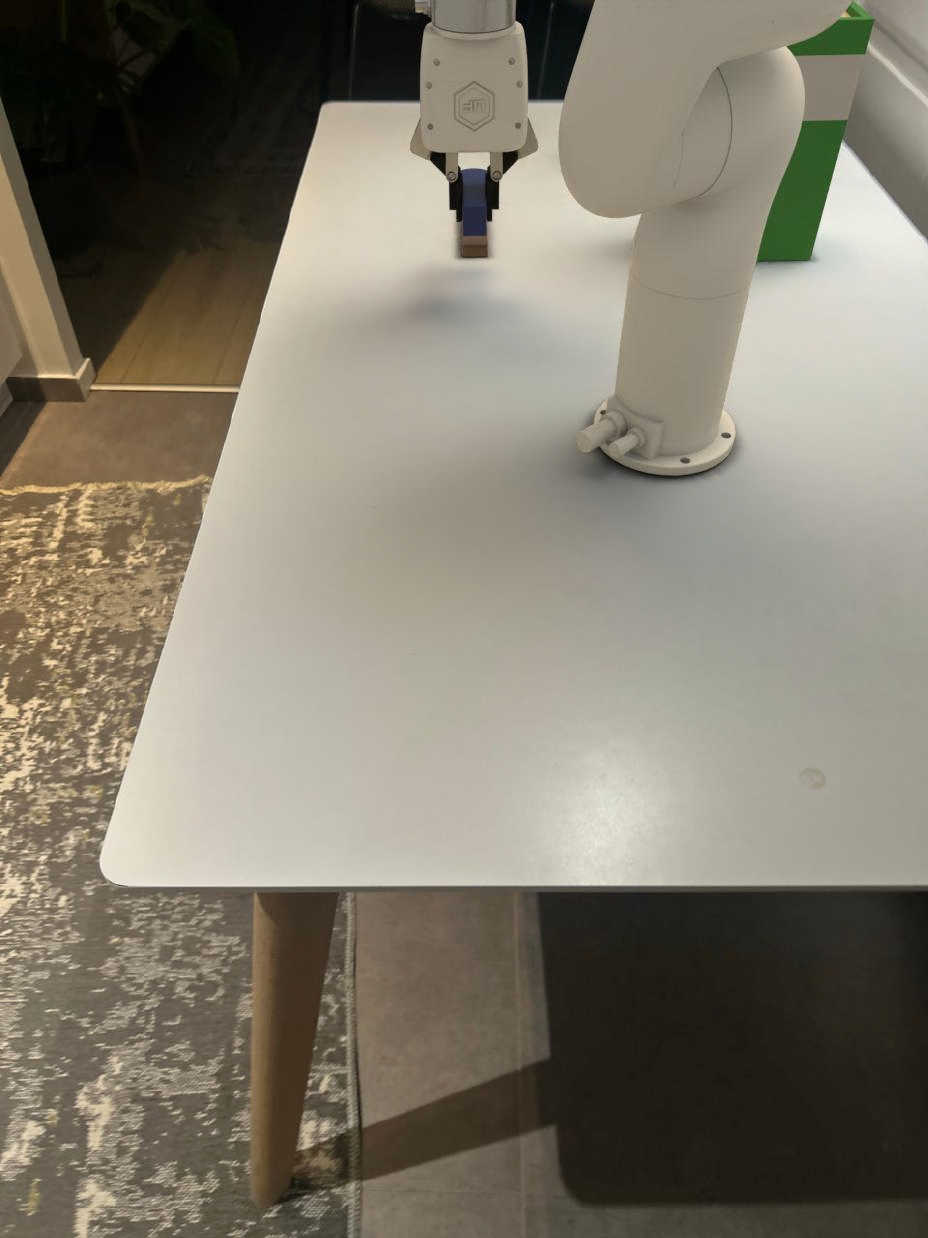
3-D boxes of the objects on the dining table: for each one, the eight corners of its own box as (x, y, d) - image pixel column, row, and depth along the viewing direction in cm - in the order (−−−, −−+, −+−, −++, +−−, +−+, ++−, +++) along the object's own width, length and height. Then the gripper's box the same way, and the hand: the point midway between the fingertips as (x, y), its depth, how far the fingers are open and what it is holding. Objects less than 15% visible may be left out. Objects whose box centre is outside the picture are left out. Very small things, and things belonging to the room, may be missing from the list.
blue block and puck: (496, 235, 93) (496, 206, 91) (452, 236, 93) (452, 206, 91) (493, 182, 101) (493, 154, 99) (453, 182, 101) (452, 154, 99)
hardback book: (657, 263, 106) (692, 23, 89) (647, 234, 111) (678, 2, 94) (810, 259, 106) (874, 18, 89) (793, 231, 111) (851, -2, 94)
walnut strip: (487, 256, 108) (487, 244, 107) (462, 257, 108) (462, 244, 107) (485, 193, 121) (485, 181, 119) (462, 193, 121) (462, 182, 119)
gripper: (380, 22, 79) (394, 233, 93) (567, 20, 79) (554, 231, 93) (385, -2, 84) (398, 201, 98) (561, -4, 84) (549, 199, 98)
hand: (474, 214), depth 95 cm, fingers closed on blue block and puck, 2 cm apart
